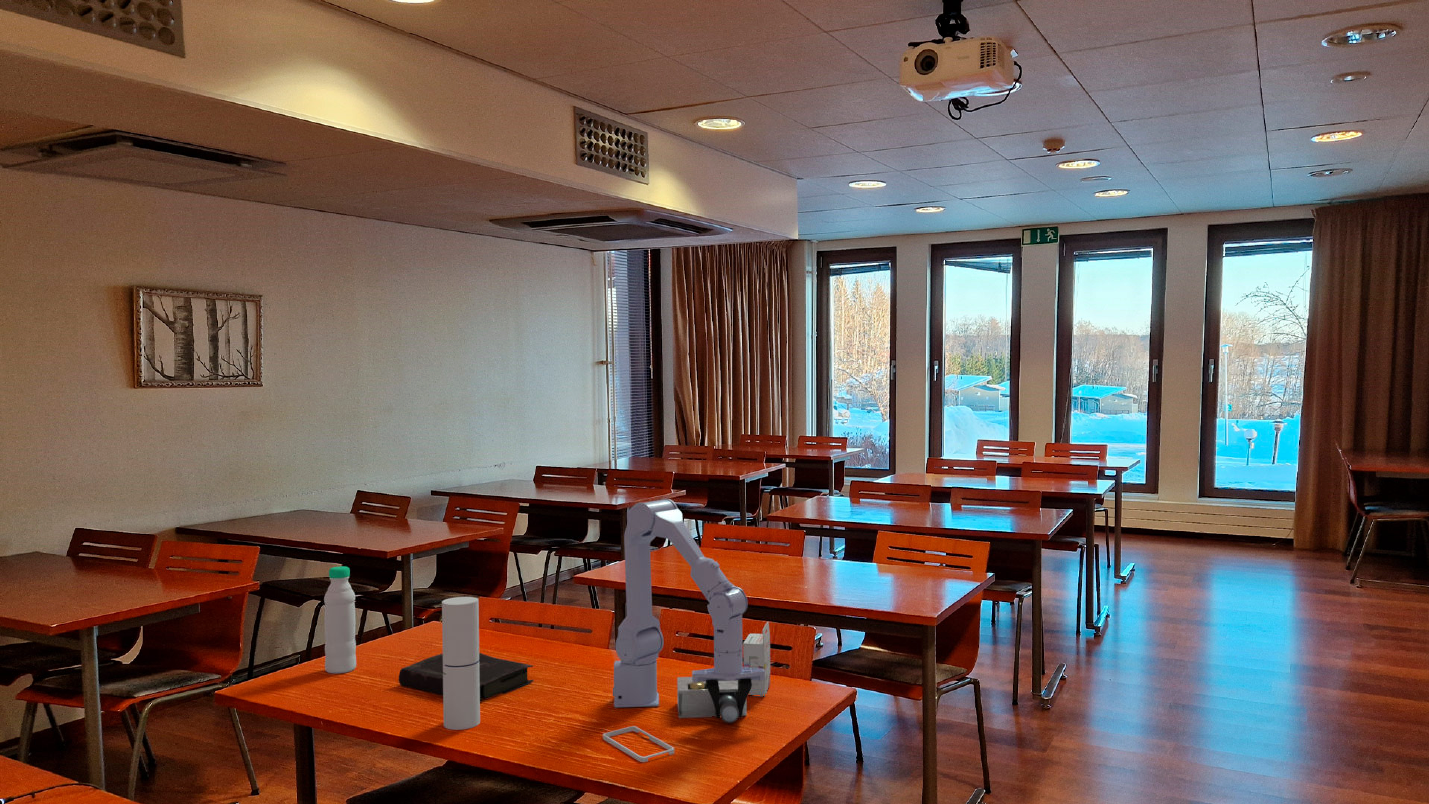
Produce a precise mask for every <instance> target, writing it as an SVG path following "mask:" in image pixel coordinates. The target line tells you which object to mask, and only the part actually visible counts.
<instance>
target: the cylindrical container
mask: <svg viewBox="0 0 1429 804" xmlns="http://www.w3.org/2000/svg"><path fill="white" fill-rule="evenodd" d="M479 610H480V609H479V598H478V597H474V596H456V597H449V598H446V599H444V600H442V601H441V621H442V622H441V623H442V624H441V625H442V626H441V627H442V628H441V629H442V630H441V631H442V632H441V633H442V653H443V696H442V697H443V699H442V701H443V702H442V704H443V707H442V708H443V709H442V711H443V712H442V713H443V728H445V729H447V730H451V731H452V730H453V731H454V730H455V731H458V730H460V731H461V730H468V729H471V728H475V727H477V726H478V725H479V724H480V723H481V705H480V704H481V703H480V702H481V701H480V682H479V653H480V630H479V629H480V625H479V623H480V621H479V619H480V617H479V615H480V612H479Z"/></svg>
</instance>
